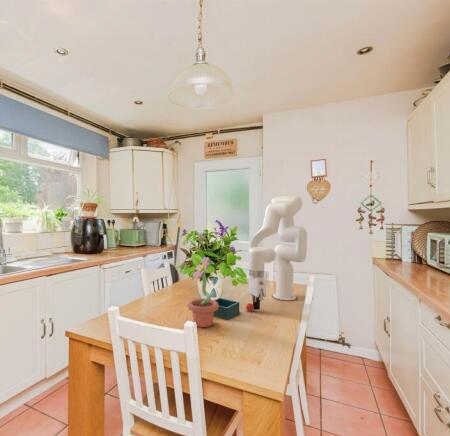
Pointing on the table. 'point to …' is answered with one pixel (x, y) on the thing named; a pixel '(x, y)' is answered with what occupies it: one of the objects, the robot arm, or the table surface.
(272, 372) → the table surface
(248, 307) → the ball
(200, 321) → the decorative flower
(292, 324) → the table surface
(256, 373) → the table surface
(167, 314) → the table surface
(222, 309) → the box
